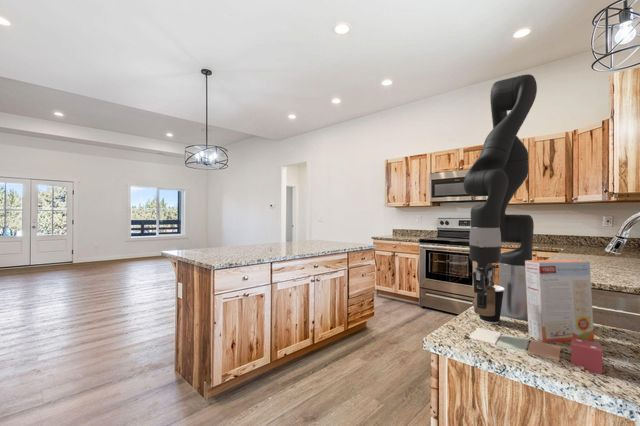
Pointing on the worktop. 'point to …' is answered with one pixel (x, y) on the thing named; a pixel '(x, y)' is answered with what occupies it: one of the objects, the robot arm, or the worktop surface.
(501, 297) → the dixie cup
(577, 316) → the cracker box
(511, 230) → the robot arm
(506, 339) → the board
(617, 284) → the worktop surface
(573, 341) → the die
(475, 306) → the pawn
